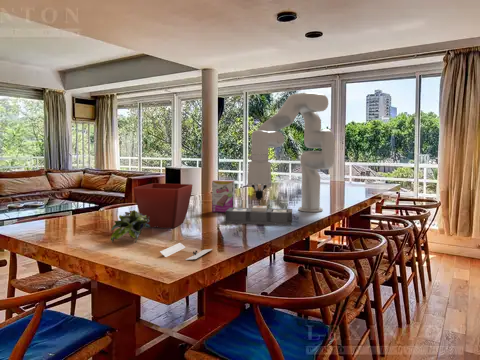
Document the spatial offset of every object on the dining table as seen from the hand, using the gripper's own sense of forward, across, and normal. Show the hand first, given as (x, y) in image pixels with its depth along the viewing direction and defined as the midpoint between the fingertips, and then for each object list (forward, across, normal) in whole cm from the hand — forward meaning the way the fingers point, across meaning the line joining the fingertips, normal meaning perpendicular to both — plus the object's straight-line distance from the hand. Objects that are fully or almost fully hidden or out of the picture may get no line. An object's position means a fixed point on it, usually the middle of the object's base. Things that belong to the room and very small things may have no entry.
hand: (259, 199), depth 162 cm
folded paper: (+11, -17, -54) cm, 58 cm away
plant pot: (+11, -39, -15) cm, 43 cm away
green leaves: (+11, -41, -42) cm, 59 cm away
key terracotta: (+6, 0, 0) cm, 6 cm away
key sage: (+8, +9, 0) cm, 12 cm away
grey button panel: (+10, 0, 0) cm, 10 cm away
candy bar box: (+10, -21, +22) cm, 32 cm away
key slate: (+8, -9, 0) cm, 12 cm away
